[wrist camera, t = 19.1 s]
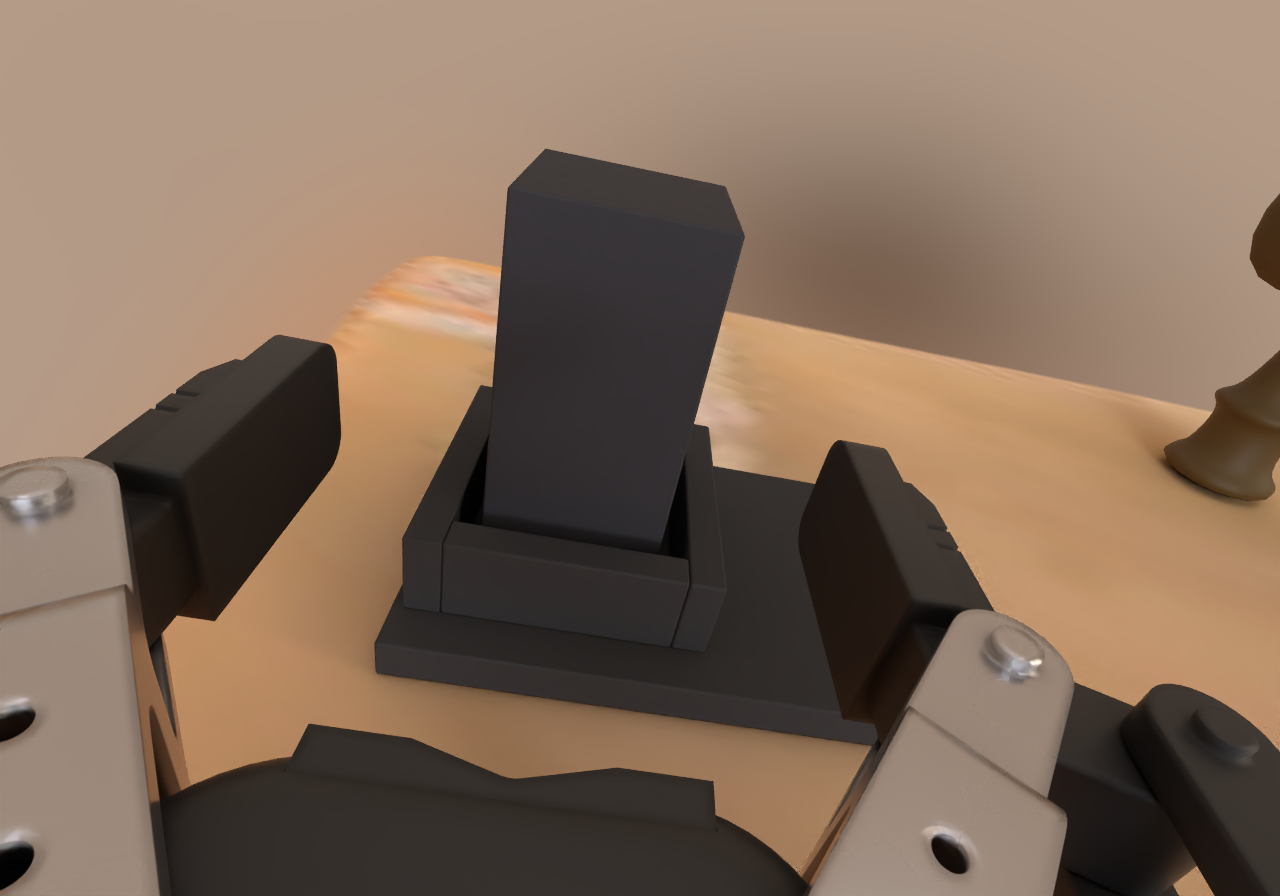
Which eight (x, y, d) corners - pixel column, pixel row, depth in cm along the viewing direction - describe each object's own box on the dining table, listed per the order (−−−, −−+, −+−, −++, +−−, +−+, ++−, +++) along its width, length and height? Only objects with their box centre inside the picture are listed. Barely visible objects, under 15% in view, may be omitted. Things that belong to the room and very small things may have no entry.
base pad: (899, 522, 28) (937, 450, 26) (1016, 767, 19) (1088, 685, 17) (475, 448, 27) (480, 367, 25) (374, 674, 17) (369, 572, 15)
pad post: (648, 501, 24) (726, 186, 18) (645, 602, 20) (745, 234, 14) (510, 477, 23) (544, 147, 18) (477, 576, 19) (507, 186, 13)
